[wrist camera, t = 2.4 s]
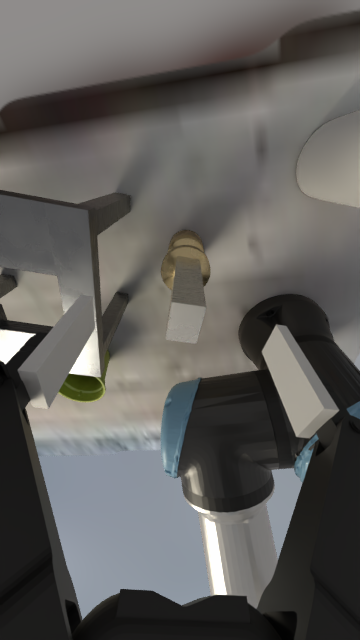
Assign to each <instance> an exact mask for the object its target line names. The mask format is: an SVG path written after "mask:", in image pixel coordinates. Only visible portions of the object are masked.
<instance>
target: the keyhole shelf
mask: <svg viewBox="0 0 360 640" xmlns="http://www.w3.org/2000/svg"><path fill="white" fill-rule="evenodd" d="M129 212H130V195H126V194H121V193H116V192H115V193H112V194H109V195H105V196H102V197H99V198H95V199H92V200H89V201H86V202H82V203H79V204H74V203H69V202H63V201H58V200H53V199H47V198H42V197H36V196H31V195H25V194H20V193H14V192H9V191H3V190H0V267H5V268H11V269H17V270H24V271H30V272H36V273H43V274H49V275H55V276H57V278H58V283H59V289H60V294H61V300H62V306H63V311H64V314H65V313H66V312H67V311H68V309H69V308H70V307H71V306H72V305H73V303H74V302H75V301H76V300H77V299H78V298H79V296H80V295H86V296H92V298H93V310H94V321H95V329H94V331H93V333H92V334H91V336H90V338H89V339H88V341H87V343H86V345H85V346H84V348H83V350H82V352H81V353H80V355H79V357H78V359H77V360H76V362H75V364H74V365H73V367H72V369H71V371H70V372H69V373H70V374H78V375H86V376H93V377H101V376H102V373H103V371H104V369H105V362H104V356H105V353H106V351H107V349H108V347H109V344H110V342H111V340H112V338H113V336H114V333H115V331H116V329H117V327H118V324H119V322H120V320H121V318H122V315H123V313H124V311H125V309H126V306H127V304H128V294H124V293H118V292H116V294H115V295H114V297H113V299H112V300H111V302H110V304H109V306H108V307H107V309H106V311H105V312H104V314H103V316H102V311H101V294H100V276H99V259H98V242H97V235H99V234H100V233H101V232H103V231H104V230H106V229H107V228H108V227H110V226H111V225H112V224H114V223H115V222H117V221H118V220H119V219H121V218H122V217H124V216H125V215H126V214H128V213H129ZM16 287H17V286H16V283H15V280H14V276H9V275H3V274H0V298H1V297H3V296H4V295H6V294H7V293H9V292H10V291H12V290H13V289H14V288H16ZM52 328H53V327H51V326H44V325H37V324H30V323H23V322H16V321H9V320H7V318H6V315H5V312H4V310H3V307H2V304H0V361H2V362H4V363H5V364H6V363H7V362H8V361H9V360H10V359H11V358H12V357H13V356H14V355H15V354H16V352H17V351H19V349H20V348H21V347H22V346H24V344H25V343H26V342H27V341H28V339H29V338H30V337H32V336H34V335H36V334H37V333H39V332H42V333H49V332H50V331H51V330H52Z"/></svg>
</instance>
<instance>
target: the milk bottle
mask: <svg viewBox="0 0 360 640" xmlns="http://www.w3.org/2000/svg"><path fill="white" fill-rule="evenodd" d="M296 177H297V182H298V185H299V187H300V189H301V190H302V191H303V193H305V194H306V195H307V196H309V197H312V198H315V199H320V200H324V201H329V202H333V203H338V204H343V205H348V206H353V207H358V208H360V110H358V111H355V112H352V113H349V114H346V115H343V116H341V117H338V118H336V119H333V120H331V121H329V122H327V123H325V124H324V125H322V126H321V127H320V128H319V129H317V130H316V131H315V132H314V133H313V134H312V136H311V137H310V138H309V139H308V141H307V142H306V144H305V145H304V147H303V149H302V151H301V153H300V156H299V159H298V163H297V169H296Z"/></svg>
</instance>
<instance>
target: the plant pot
mask: <svg viewBox="0 0 360 640" xmlns="http://www.w3.org/2000/svg"><path fill="white" fill-rule="evenodd" d="M109 358H110V354H109V352H108V350H107V351H106V353H105V356H104V362H105V369H104V371H103V373H102V376H101V377H93V376H86V375H78V374H70V373H69V374H68V376H67V378H66V379H65V381H64V383H63V385H62V386H61V388H60V390H59V392H58V393H59V394H61V395H62V396H64V397H66V398H68V399H70V400H74V401H78V402H93V401H97V400H99V399H101V398H102V397H103V396H104V394H105V390H106V388H105V376H106V371H107V367H108V363H109Z"/></svg>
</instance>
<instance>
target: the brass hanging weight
mask: <svg viewBox="0 0 360 640" xmlns="http://www.w3.org/2000/svg"><path fill="white" fill-rule="evenodd" d="M161 275H162V279H163V281H164V283H165V284H166V286H167V287H168V288H170V289H171V290H172V293H171V301H170V309H169V316H168V324H167V332H166V340H173V341H180V342H187V343H194V344H196V343H197V339H198V336H199V332H200V329H201V325H202V321H203V318H204V314H205V311H206V301H205V294H204V286H205V285H206V283H207V282H208V280H209V277H210V265H209V261H208V258H207V256H206V255H205V253H204V249H203V244H202V240H201V238H200V237H199V236H198V235H197V234H196V233H195V232H193V231H190V230H183V231H180V232H178V233H176V234H175V235H174V236H173V237H172V239H171V241H170V245H169V249H168V253H167V254H166V256H165V258H164V260H163V263H162V267H161Z"/></svg>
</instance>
